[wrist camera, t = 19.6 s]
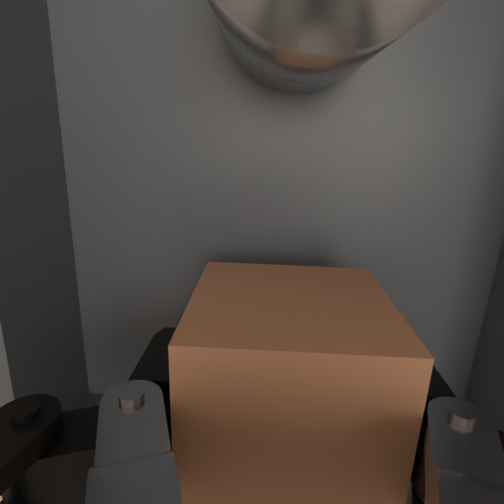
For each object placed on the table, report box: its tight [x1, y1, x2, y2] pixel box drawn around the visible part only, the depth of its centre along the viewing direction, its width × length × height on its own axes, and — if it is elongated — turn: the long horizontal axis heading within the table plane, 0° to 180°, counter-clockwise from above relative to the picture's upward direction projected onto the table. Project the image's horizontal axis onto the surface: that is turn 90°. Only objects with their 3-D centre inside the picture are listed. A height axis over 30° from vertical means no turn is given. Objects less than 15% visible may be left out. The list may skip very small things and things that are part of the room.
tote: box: [0, 0, 504, 504], centre depth 11 cm, size 24×18×5 cm
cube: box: [168, 262, 434, 504], centre depth 10 cm, size 5×5×5 cm
